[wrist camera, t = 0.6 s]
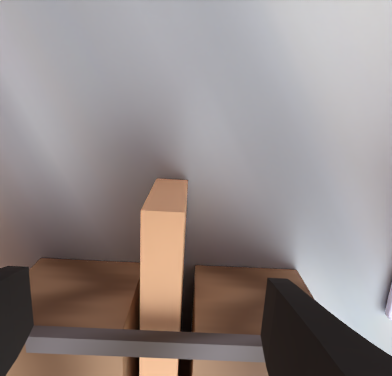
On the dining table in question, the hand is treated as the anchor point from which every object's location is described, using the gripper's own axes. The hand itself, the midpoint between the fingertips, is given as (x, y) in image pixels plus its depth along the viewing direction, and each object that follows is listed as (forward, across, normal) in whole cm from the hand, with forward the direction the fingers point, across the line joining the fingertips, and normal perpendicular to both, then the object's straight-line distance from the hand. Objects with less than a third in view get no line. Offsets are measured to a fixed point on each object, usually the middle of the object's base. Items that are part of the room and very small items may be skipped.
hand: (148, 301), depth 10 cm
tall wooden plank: (+10, 0, +4) cm, 10 cm away
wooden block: (+10, 0, +8) cm, 13 cm away
